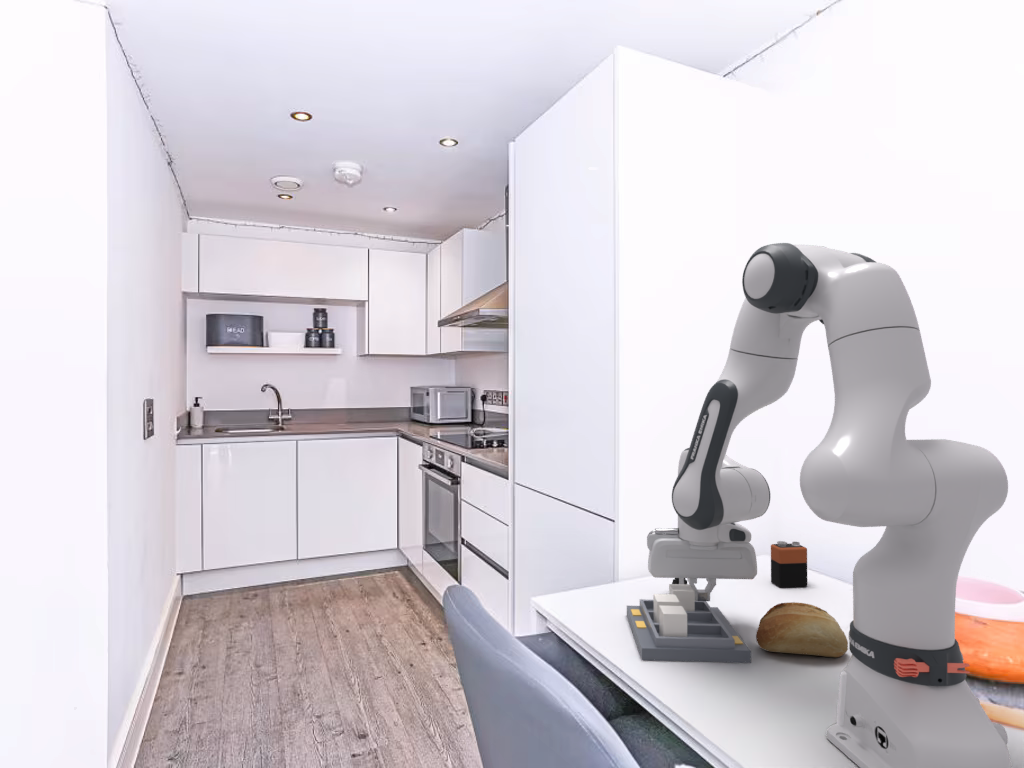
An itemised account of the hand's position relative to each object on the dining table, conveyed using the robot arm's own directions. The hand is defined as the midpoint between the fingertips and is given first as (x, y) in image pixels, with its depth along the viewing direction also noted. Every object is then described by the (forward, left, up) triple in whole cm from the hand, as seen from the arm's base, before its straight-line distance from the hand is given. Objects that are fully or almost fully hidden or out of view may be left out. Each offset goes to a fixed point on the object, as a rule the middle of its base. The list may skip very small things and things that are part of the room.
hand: (701, 600), depth 117 cm
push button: (+16, +1, -5) cm, 17 cm away
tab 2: (-6, +8, -3) cm, 10 cm away
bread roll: (-11, -14, -5) cm, 19 cm away
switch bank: (-6, +5, -5) cm, 9 cm away
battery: (+25, -26, -5) cm, 36 cm away
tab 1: (0, +4, -3) cm, 5 cm away
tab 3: (-12, +8, -3) cm, 15 cm away
